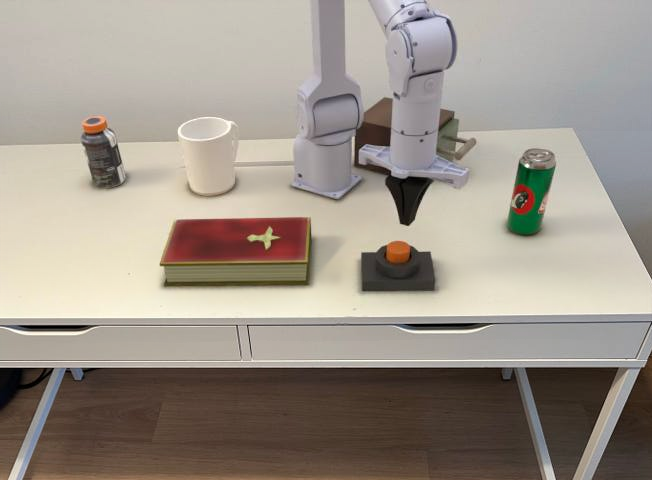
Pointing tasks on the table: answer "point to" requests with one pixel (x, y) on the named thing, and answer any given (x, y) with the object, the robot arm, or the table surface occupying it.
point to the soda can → (531, 191)
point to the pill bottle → (102, 153)
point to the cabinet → (382, 130)
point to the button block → (397, 271)
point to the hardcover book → (238, 252)
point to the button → (398, 252)
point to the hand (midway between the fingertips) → (407, 221)
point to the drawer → (452, 142)
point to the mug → (209, 154)
